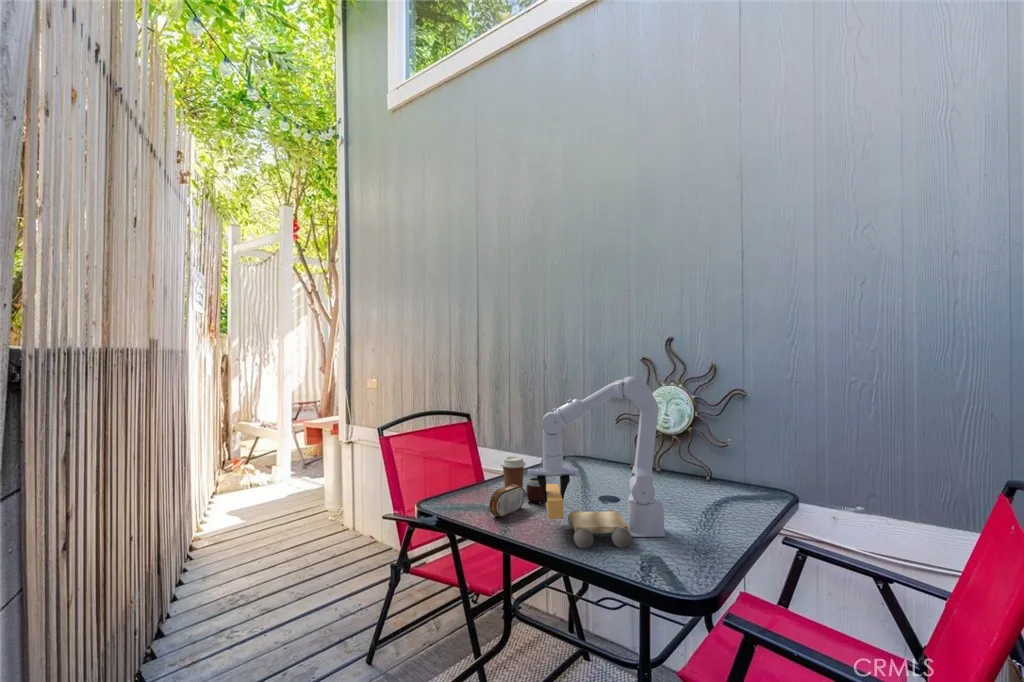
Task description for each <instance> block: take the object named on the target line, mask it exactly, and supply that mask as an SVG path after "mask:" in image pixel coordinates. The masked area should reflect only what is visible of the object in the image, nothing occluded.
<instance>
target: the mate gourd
mask: <svg viewBox="0 0 1024 682" xmlns="http://www.w3.org/2000/svg"><path fill="white" fill-rule="evenodd" d="M539 468H543V457H542V458H541V461H540V464H539ZM526 483H527V484H526V495H527V498H528V503H537V504H538V505H541V506H542V504H543V503H542V502H544V496H543V492H542V489H541V487H540V485H539V483H538V480H537V477H530V478H529V479H528V481H527V482H526ZM546 484H548V483H547V482H546ZM540 502H541V503H540ZM537 504H536V505H537ZM538 505H537V506H538Z"/></svg>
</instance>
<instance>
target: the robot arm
mask: <svg viewBox="0 0 1024 682" xmlns="http://www.w3.org/2000/svg"><path fill="white" fill-rule="evenodd" d="M624 396H625V397H626V398H627V399H628V400H630V401H632V403H634V405H635V406H636V407H637V408H638V409H639V411H640V412H639V420H638V426H637V427H638V429H637V438H636V447H635V448H636V449H635V457H634V464H633V467H632V471H631V474H630V476H629V478H628V479H627V488H628V489H629V491H630V494H629V495H628V497H627V498H628V499H627V503H628V504H627V507H628V509H627V511H628V524H627V526H628V531H629V532H630V534H631V537H632V538H646V537H648V538H649V537H650V538H652V537H653V538H654V537H656V538H657V537H659V538H661V537H665V536H666V534H665V509H664V506H663V503H662V500H659V499H655V497H656V489H655V487H654V482H653V481H654V475H653V463H654V462H653V461H654V453H655V452H654V451H655V442H656V434H657V425H658V419H659V417H658V416H659V404H658V402H657V400H656V398H655V396H654V394H653V393H652V390H651V388H650V386H649V385H648V384H647V383H646V382H645V381H643V380H642V379H641V378H638V377H636V376H633V375H627V376H625V377H623V378H622V379H618V380H615V381H613V382H611V383H609V384H607V385H605V386H604V387H602V388H601V389H599V390H597V391H595V392H593V393H592V394H590V395H588V396H586V397H585V398H584V399H579V398H574V399H572V398H570V399H568V400H567V401H566V402H567V403H564V404H563V405H561V406H559V407H558V408H556V407H554V408H553V409H552V411H549V412H547V413H545V414H544V415H543V418H542V419H541V427H542V429H543V430H542V441H541V442H542V458H543V462H542V464H543V465H542V468H540V467H539V468H537V467H536V468H528V469H527V477H528V478H537V480H538V483H539V485H540V487H541V489H542V492H543V496H544V502H545V503H544V504H546V503H547V495H546V483H547V477H559V486H560V487H559V489H560V493H561V496H562V499H563V500H564V497H565V493H566V490H567V488H568V486H569V483H570V480H571V478H570V477H576V478H577V477H579V476H580V475H579V468H578V467H575V468H574V467H564V461H563V457H564V456H563V455H564V454H563V438H562V430H563V427H568V426H570V425H571V424H573V423H575V422H577V421H579V420H581V419H582V418H585V417H586V415H587V411H588V410H590V409H592V408H594V407H596V406H598V405H600V404H602V403H605V402H606V401H608V400H610V399H624Z"/></svg>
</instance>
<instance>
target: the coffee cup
mask: <svg viewBox="0 0 1024 682" xmlns="http://www.w3.org/2000/svg"><path fill="white" fill-rule="evenodd" d="M526 464H527V463H526V461H524V459H523V457H522V456H515V455H514V456H512V455H511V456H506V457H504V458H503V461H502V462H500V466H501V467H502V471H503V479H504V480H503V481H504V487H506V486H509V485H512V484H516V485H518V486H521V487H522V488H523V487H524V473H525V472H524V469H525V466H526ZM523 489H524V488H523Z"/></svg>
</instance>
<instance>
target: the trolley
mask: <svg viewBox="0 0 1024 682" xmlns="http://www.w3.org/2000/svg"><path fill="white" fill-rule="evenodd" d="M567 522H568V525H569V527H570V528H572V529H573V530H574V534H573V540H574V544H575V545H576V546H577V547H578V548H580V549H584V550H585V549H588V548H590V547H591V546H592V545H594V544H593V543H594V539H595V538H594V535H593V534H596V533H597V534H598V533H599V534H602V533H603V534H604V533H605V534H606V533H607V534H608V533H611V540H612V542H613V544H614V545H615V546H616V547H617V548H620V549H624V548H627V547H628V546H630V544H631V542H632V538H633V537H631V534H630V532H629V531H628V526H627V525H628V523H626V521H625V519H624V518H623V517H622V515H621V513H620V512H619V511H618V510H617V511H616V510H614V509H607V510H605V511H580V510H575V509H574V510H572V511H570V512H569V514H568V516H567Z"/></svg>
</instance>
